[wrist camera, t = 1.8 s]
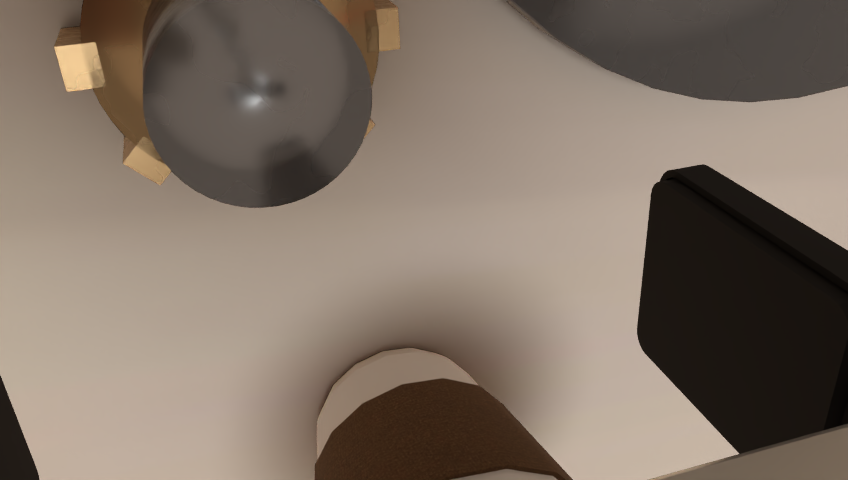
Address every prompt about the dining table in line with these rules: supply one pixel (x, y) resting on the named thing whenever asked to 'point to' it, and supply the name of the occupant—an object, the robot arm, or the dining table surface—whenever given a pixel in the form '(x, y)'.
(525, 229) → the dining table surface
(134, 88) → the gear
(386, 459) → the coffee cup
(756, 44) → the carrier plate
